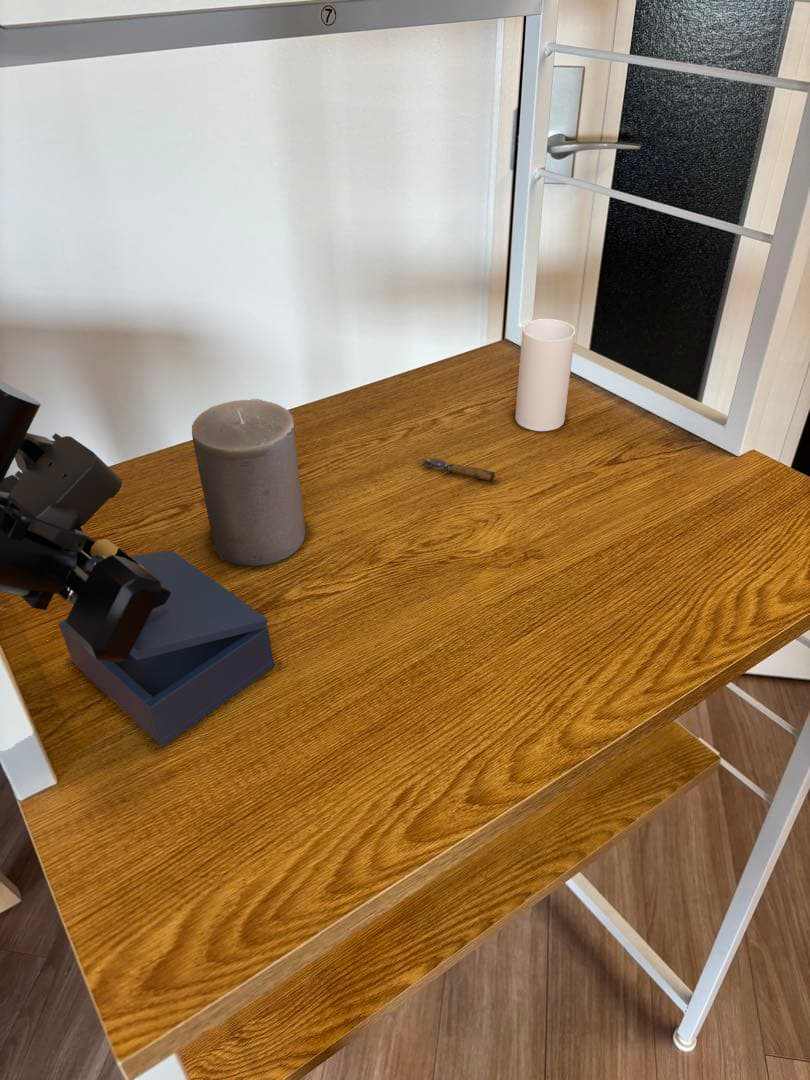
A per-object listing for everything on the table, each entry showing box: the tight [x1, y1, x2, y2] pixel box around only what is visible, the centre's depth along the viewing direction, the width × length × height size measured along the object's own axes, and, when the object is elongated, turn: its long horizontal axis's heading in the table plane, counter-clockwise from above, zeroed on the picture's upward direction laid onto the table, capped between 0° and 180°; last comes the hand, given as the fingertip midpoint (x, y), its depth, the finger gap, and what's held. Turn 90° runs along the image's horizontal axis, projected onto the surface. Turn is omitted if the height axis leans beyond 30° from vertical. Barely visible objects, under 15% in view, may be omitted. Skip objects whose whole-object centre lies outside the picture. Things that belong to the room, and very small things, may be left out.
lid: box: [69, 538, 269, 660], centre depth 67 cm, size 12×14×5 cm
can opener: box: [421, 458, 496, 482], centre depth 95 cm, size 9×2×1 cm, turn 61°
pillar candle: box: [191, 398, 306, 567], centre depth 82 cm, size 10×10×15 cm
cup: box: [514, 318, 576, 432], centre depth 101 cm, size 6×6×12 cm
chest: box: [58, 619, 275, 748], centre depth 71 cm, size 12×14×5 cm
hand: (149, 582), depth 66 cm, fingers open, 5 cm apart
